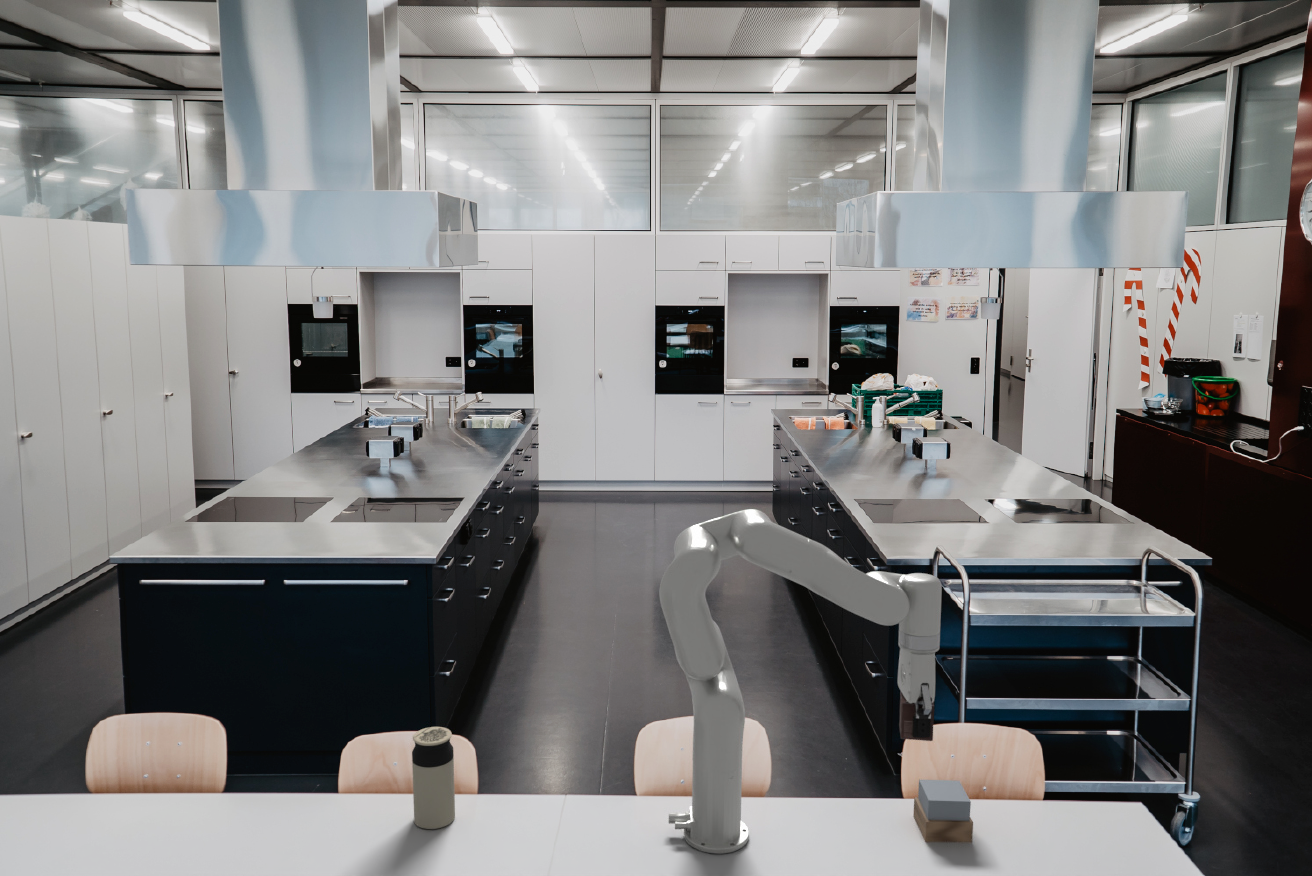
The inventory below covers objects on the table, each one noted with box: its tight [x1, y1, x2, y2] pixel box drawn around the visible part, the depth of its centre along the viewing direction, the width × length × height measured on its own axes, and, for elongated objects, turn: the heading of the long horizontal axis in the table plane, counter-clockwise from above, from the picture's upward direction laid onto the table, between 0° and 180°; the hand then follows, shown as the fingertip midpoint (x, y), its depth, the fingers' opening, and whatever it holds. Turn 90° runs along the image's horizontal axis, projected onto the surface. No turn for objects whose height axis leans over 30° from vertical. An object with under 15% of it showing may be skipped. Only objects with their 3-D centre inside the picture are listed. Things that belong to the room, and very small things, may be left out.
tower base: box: [912, 796, 974, 843], centre depth 188 cm, size 9×9×4 cm
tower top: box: [917, 779, 972, 821], centre depth 187 cm, size 8×8×4 cm
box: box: [898, 690, 935, 742], centre depth 182 cm, size 6×6×7 cm
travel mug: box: [411, 726, 456, 830], centre depth 189 cm, size 8×8×18 cm
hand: (915, 727), depth 183 cm, fingers closed on box, 6 cm apart
